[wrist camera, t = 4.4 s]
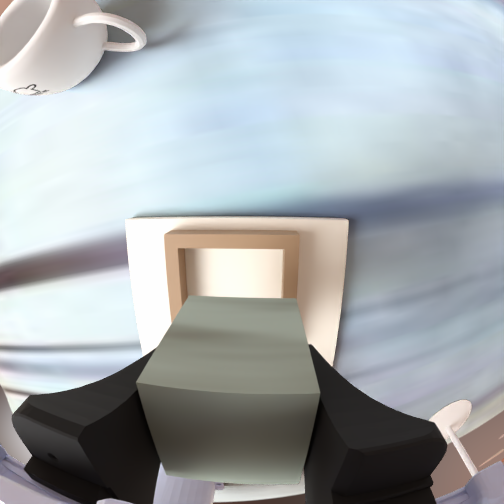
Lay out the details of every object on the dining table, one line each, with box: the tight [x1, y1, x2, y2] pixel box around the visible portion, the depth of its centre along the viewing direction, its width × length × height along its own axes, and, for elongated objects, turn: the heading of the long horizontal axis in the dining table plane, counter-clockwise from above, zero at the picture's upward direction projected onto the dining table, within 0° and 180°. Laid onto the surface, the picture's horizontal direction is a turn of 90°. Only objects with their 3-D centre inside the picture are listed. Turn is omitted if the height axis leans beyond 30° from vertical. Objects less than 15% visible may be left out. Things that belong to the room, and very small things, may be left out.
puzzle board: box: [125, 216, 349, 366], centre depth 17 cm, size 18×14×7 cm
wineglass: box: [428, 400, 478, 477], centre depth 13 cm, size 8×9×20 cm
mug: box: [0, 0, 147, 96], centre depth 12 cm, size 12×8×8 cm
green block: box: [136, 295, 320, 485], centre depth 10 cm, size 4×4×6 cm
